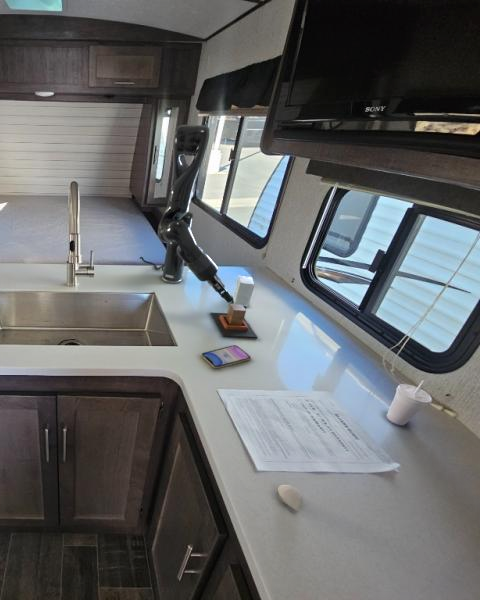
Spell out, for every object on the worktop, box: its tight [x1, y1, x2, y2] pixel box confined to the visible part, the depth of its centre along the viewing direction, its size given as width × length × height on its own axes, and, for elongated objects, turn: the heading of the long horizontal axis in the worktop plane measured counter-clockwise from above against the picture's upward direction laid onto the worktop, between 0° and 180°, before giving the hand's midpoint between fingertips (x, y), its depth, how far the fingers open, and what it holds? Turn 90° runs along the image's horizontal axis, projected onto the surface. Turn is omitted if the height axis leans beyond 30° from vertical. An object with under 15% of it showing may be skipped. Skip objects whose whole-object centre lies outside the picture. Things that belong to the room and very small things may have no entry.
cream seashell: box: [276, 484, 303, 512], centre depth 65 cm, size 4×5×2 cm
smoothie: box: [386, 379, 433, 426], centre depth 81 cm, size 6×6×14 cm
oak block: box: [225, 303, 247, 326], centre depth 120 cm, size 4×4×8 cm
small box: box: [232, 275, 255, 307], centre depth 137 cm, size 8×6×10 cm
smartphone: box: [200, 344, 252, 369], centre depth 105 cm, size 8×15×1 cm, turn 110°
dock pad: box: [210, 312, 258, 340], centre depth 122 cm, size 16×12×2 cm
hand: (226, 295), depth 117 cm, fingers open, 8 cm apart
